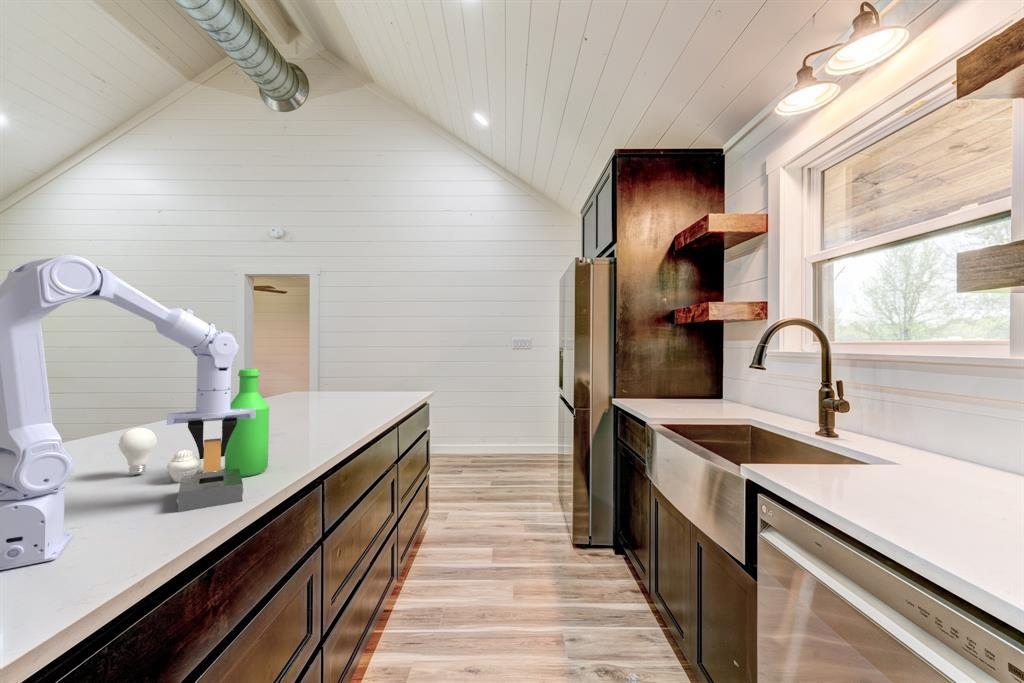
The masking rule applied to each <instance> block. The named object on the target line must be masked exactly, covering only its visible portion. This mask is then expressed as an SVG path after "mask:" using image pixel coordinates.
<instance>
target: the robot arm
mask: <svg viewBox="0 0 1024 683" xmlns="http://www.w3.org/2000/svg"><path fill="white" fill-rule="evenodd" d="M78 299H79V300H80V299H83V300H84V299H86V300H88V299H89V300H102V301H103V300H104V301H106V302H109V303H111V304H113V305H115V306H116V307H120V308H121V309H123V310H126V311H127V312H130V313H131V314H134V315H136V316H139V317H141V318H142V319H145V320H147V321H150V322H152V323H153V324H154V326H155V329H156V332H157V333H158V334H159V335H162V336H164V337H166V338H167V339H170V340H171V341H173V342H175V343H177V344H179V345H181V346H183V347H186V348H187V349H189V350H190V351H191V353H192V354H193V355H194V356H195V357H196V359H197V361H196V362H197V363H196V392H195V393H196V394H195V395H196V398H195V399H196V400H195V410H194V411H193V410H192V411H184V412H183V411H182V412H173V413H167V414H166V425H167V426H169V425H170V426H171V425H175V424H187V428H188V431H189V432H190V434H191V436H192V439H193V440H194V442H195V444H196V447H197V452H198V455H199V456H198V457H199V458H198V459H200V460H204V423H205V422H217V421H218V422H219V421H222V422H221V424H222V425H221V458H222V457H224V458H225V451H226V447H227V444H228V441H229V439H230V436H231V434H232V432H233V430H234V429H235V427H236V425H237V419H246V418H249V419H253V418H255V408H248V409H230V404H231V402H232V401H231V400H232V398H231V395H232V394H231V393H232V365H233V362H234V357H235V356H236V354H237V353H238V351H239V348H240V344H238V343H237V340H236V338H235V337H234V335H233V334H232V333H231V332H229V331H225V330H217V329H216V324H213V323H210V322H208V323H207V322H205V321H204V320H202V319H201V318H199V317H197V316H195V315H194V311H192V310H191V309H189V308H181V307H174V308H167V307H166V306H164V305H162V304H161V303H159V302H158V301H156V300H154V299H153V298H151V297H150V296H148V295H146V294H145V293H143V292H142V291H140V290H138V289H137V288H135V287H133V286H132V285H131V284H129V283H127V282H125V281H124V280H122V279H120V278H119V277H118V276H116V275H115V274H114V273H112V272H111V271H109V270H108V269H107V268H105V267H102V266H100V265H95V264H94V263H92V261H90V260H88V259H86V258H84V257H82V256H78V255H74V254H63V255H58V256H55V257H50V258H36V259H32V260H31V259H30V260H29V261H26V262H24V263H22V264H20V265H17V266H16V267H14V268H12V269H10V270H9V271H8V273H7V276H6V278H5V280H4V281H2V283H1V284H0V571H3V570H8V569H14V568H18V567H24V566H29V565H34V564H39V563H44V562H49V561H53V560H56V559H58V557H59V555H60V553H62V551H63V550H64V549H65V547H66V546H67V544H68V543H69V541H70V540H71V539H72V537H73V532H66V533H65V504H66V502H65V500H66V499H65V498H66V497H65V496H66V487H65V486H66V482H67V481H68V480H69V478H70V477H71V476H72V474H73V471H74V466H75V465H74V461H73V458H72V456H71V455H70V454H69V453H67V451H66V450H65V448H64V446H63V439H62V436H61V435H60V433H59V432H58V431H57V429H56V428H55V426H54V424H53V415H52V409H51V408H52V407H51V400H50V390H49V383H48V382H49V381H48V374H47V373H48V372H47V364H46V363H47V362H46V355H45V354H46V353H45V347H44V339H43V338H44V337H43V331H42V330H43V329H42V321H41V320H42V319H43V318H44V317H46V316H47V315H49V314H50V313H52V312H53V311H55V310H56V309H58V308H59V307H61V306H62V305H64V304H66V303H67V304H68V303H69V302H73V301H76V300H78Z"/></svg>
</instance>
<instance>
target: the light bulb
mask: <svg viewBox="0 0 1024 683" xmlns="http://www.w3.org/2000/svg"><path fill="white" fill-rule="evenodd" d="M156 445H157V436H156V434H155V432H154V431H152V430H151V429H149V428H145V427H135V428H131V429H129V430H127V431H126V432H124V433H123V434H122V435H121V437H120V438H119V440H118V448H119V451H120V452H121V453H122V454H123V456H124V457H125V459H126V460H127V465H128V466H129V468H128V474H130V475H132V476H133V475H134V476H139V475H141V474H144V473H145V472H146V466H147V465H146V464H147V462H148V458H149V456H150V454H151V453H152V452H153V449H154V448H155V447H156Z"/></svg>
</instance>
